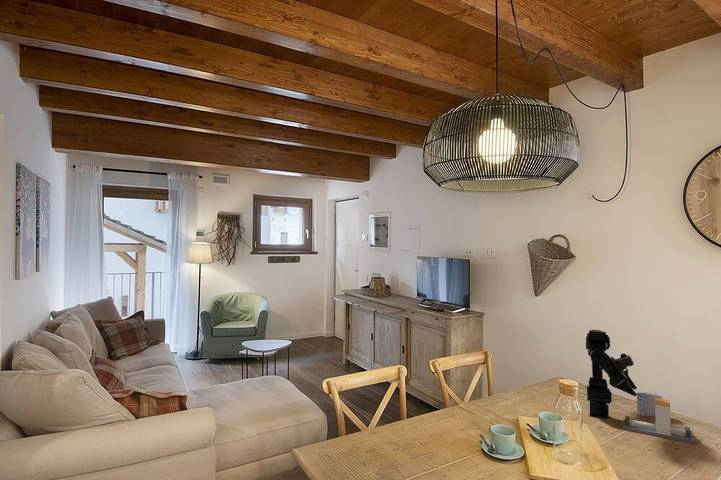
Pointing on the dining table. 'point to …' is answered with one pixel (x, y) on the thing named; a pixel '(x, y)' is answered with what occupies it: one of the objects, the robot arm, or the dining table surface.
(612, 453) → the dining table surface
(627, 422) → the board
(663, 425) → the white upright block
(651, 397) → the medicine box
